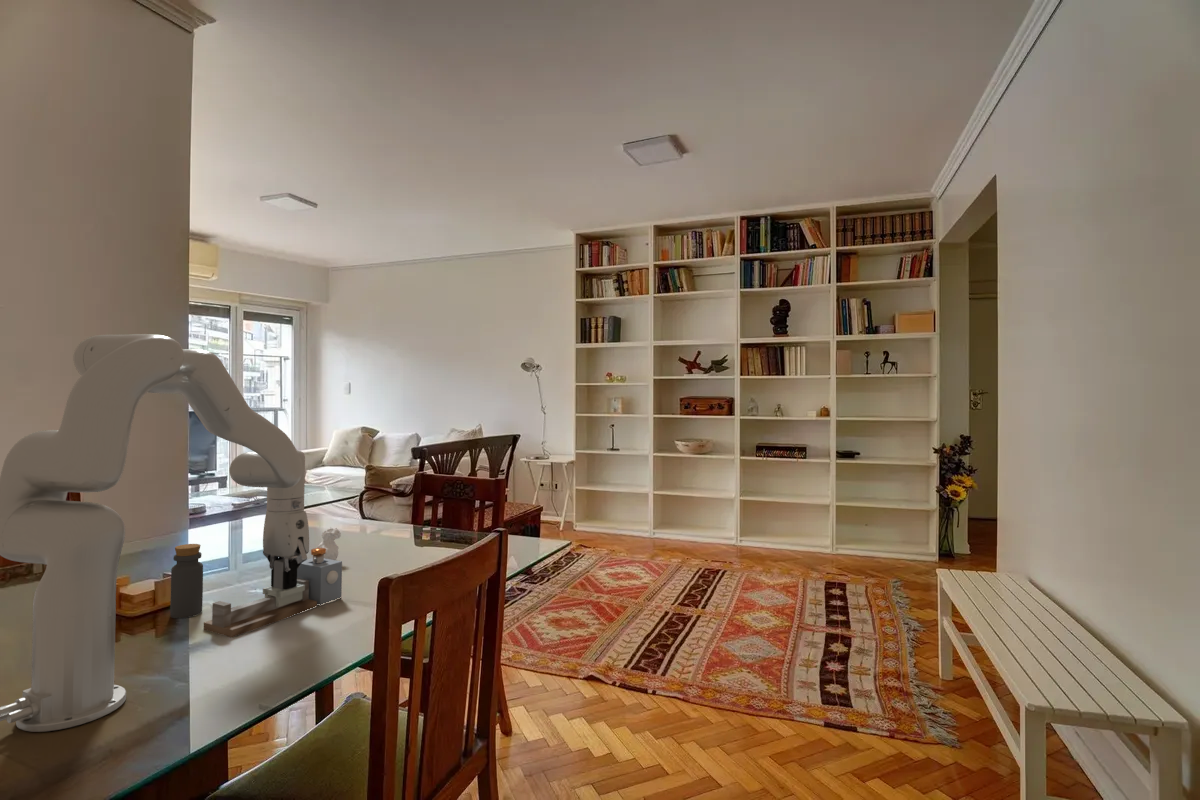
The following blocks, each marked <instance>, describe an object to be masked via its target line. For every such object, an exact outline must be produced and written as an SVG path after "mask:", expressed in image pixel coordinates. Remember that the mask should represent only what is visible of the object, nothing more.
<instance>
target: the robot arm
mask: <svg viewBox="0 0 1200 800" xmlns="http://www.w3.org/2000/svg"><path fill="white" fill-rule="evenodd" d="M73 365H74V367H75V369H76V371H77V372H78V373H79V375H80V376H79V378H78V379H77V381H76V382H75V383H74V385H73V386H72V388H71V390H70V392H69V394H68V397H67V399H66V403H65V408H64V410H63V411H64V412H63V415H62V419H61V422H60V425H59V429H57V430H56V429H47V430H40V431H35V432H32V433H29V434H27V435H25V436H24V437H22V438H21V439H19V440H18V441H17V442H16V443H15V444H14V445H13V446H12V447H11V449H10V450H9V451H8V453H7V454H6V456H5V459H4V461H3V464H2V467H1V472H0V557H2V558H4V559H6V560H9V561H13V562H19V563H29V564H38V565H40V564H41V565H46V566H45V571H44V572H43V575H42V577H41V579H40V580H39V582H38V584H37V586H36V589H35V591H34V594H33V595H34V597H33V601H32V603H33V604H32V642H31V643H32V644H31V651H32V652H31V659H32V660H31V687H30V688H27V689H24V690H23V689H22V696H21V697H19V698H16V699H15V700H14V702H12V703H9V704H5V705H1V706H0V722H2V721H4V720H6V722H7V723H8V724H12V723H14V722H15V723H16V727H17V728H18V729H20V730H21V731H24V732H32V733H33V732H34V733H35V732H37V733H41V732H42V733H43V732H51V731H58V730H64V729H70V728H74V727H78V726H80V725H83V724H87V723H89V722H93V721H95V720H97V719H100V718H102V717H104V716H106V715H108V714H111V713H112V712H114V711H115V710H117V709H118V708H120V707H121V706H122V705H123V704H124V703H125V701H126V699H127V689H126V688H125V687H124V686H121V685H118V684H115V659H116V649H115V648H116V615H117V611H116V608H117V604H116V603H117V602H116V600H117V597H116V596H117V594H116V593H117V580H118V579H117V578H118V576H117V575H118V571H119V569H118V568H119V563H120V560H121V559H120V558H121V554H122V551H123V550H122V549H123V547H124V542H125V539H126V525H125V521H124V519H123V517H122V516H121V514H119V512H117V511H116V510H115V509H113V508H112V507H110V506H109V505H105V504H101V503H98V502H92V501H79V500H78V501H77V500H75V501H74V500H67V497H68V493H82V494H83V493H88V494H89V493H99V492H103V491H107V490H109V489H112V488H113V487H114V486H116V485H117V484H118V483H119V481H120V480H121V478H122V476H123V474H124V471H125V467H126V461H127V456H128V450H129V444H130V440H131V439H130V438H131V433H132V427H133V422H134V421H133V420H134V417H135V413H136V410H137V408H138V406H139V403H140V402H141V400H142V399H143V398H144V397H145V395H146V394H147V393H151V394H160V395H161V394H165V395H166V394H167V395H168V394H169V395H170V394H172V395H173V394H175V395H181V396H182V397H183V398H184V400H185V401H186V402H187V403H188V405H189V406H190V407H191V409H192V411H193V412H194V414H195V415H196V417H197V418H198V419H199V421H200V423H201V424H202V426H203V427H204V428H205V430H206V431H207V432H209V433H210V434H212V435H214V436H216V437H218V438H220V439H223V440H225V441H228V442H231V443H233V444H236V445H240V446H242V447H244V448H246V449H249V450H251V451H245V452H243V453H240V454H238V455H237V456H235V458H233V460H232V462H231V463H230V466H229V470H228V471H229V475H230V478H231V479H232V481H233V482H235V483H236V484H237V485H239V486H242V487H248V488H266V513H265V517H264V524H263V525H264V526H263V533H262V535H263V536H262V555H263V556H264V557H265V558H266V559H267V561H268V563H269V569H270V570H271V574H270V576H271V577H270V586H271V587H273V585H274V561H275V560H279V559H283V558H285V571H284V572H283V589H285V590H286V589H289V588H293V587H296V586H297V569H299V566H300V564H301V563H302V562H304V561H306V560H307V559H308V556H307V554H308V553H309V551H310V529H309V520H308V515H307V511H306V510H305V481H306V455H305V453H304V452H303V451H301V450H299V449H298V450H297V448H296V446H295V445H294V443H293V441H292V440H291V438H290V437H289V436H288V435H287V434H286V433H285V432H284V431H283V430H282V429H280V428H279V427H278V426H277V425H275V424H274V423H272V422H271V421H270V420H268V419H267V418H266V417H264V416H262V415H261V414H259V413H258V412H256V411H254V410H253V409H252V408H251V407H250V406H249V404H248V402H247V401H246V399H245V397H244V396H243V395H242V393H241V391H240V390H239V388H238V386H237V385H236V383H235V381H234V380H233V378H232V377H231V375H230V373H229V372H228V370H227V368H226V367H225V364H224V363H223V362H222V361H221V359H220V358H219V356H217V355H216V354H214V353H213V352H212V351H208V350H204V349H197V348H196V349H195V348H193V349H190V348H187V349H186V348H185V349H184V348H183V347H182V345H181V344H180V342H179V341H177V340H176V339H174V338H171V337H169V336H166V335H162V334H152V333H151V334H150V333H148V334H147V333H142V334H141V333H133V334H132V333H131V334H97V335H93V336H90V337H88V338H86V339H83V340H82V341H81V342H80V343H78V345H77V346H76V348H75V350H74V352H73ZM290 559H293V561H292V562H291V563H290Z"/></svg>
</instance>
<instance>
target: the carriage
mask: <svg viewBox="0 0 1200 800" xmlns="http://www.w3.org/2000/svg"><path fill="white" fill-rule="evenodd" d="M292 561H293V559H290V563H291V562H292ZM284 571H285V558H283V559H279V560H275V561H274V585H273V587H271V585H270V586H267V587H263V588H262V594H263V595H264V598H265V597H269V596H275V597H276V606H277V607H280V606H283V605H286V604H289V603H292V602H295V601H298V600H301V599H302V595H303V591H304V590H305V585H302V584H297V586H296V587H293V588H289V589H286V590H285V589H283V572H284Z"/></svg>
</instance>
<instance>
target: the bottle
mask: <svg viewBox="0 0 1200 800" xmlns="http://www.w3.org/2000/svg"><path fill="white" fill-rule="evenodd" d="M200 549H201V544H199V543H187V544H180V545H177V546H175V547H174V551H175V554H174V555H173V561H175V562H176V564H174V565H173V566H172V567H171V569H170V570H171V571H170V572H171V573H170V575H171V576H170V605H169V606H170V611H169V612H170V618H172V619H186V618H192V617H195V616H198V615H200V614H201V613H202V612H203V595H204V594H203V593H204V592H203V590H204V564H203V563H202V562H200V561H199V559H201V558H202V552H201V551H200Z"/></svg>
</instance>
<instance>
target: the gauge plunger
mask: <svg viewBox="0 0 1200 800" xmlns="http://www.w3.org/2000/svg"><path fill="white" fill-rule="evenodd" d="M325 553H326V548H317V547H315V548H312V549H310V555H311V556H312V558H313V564H321V563H324V554H325Z"/></svg>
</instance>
